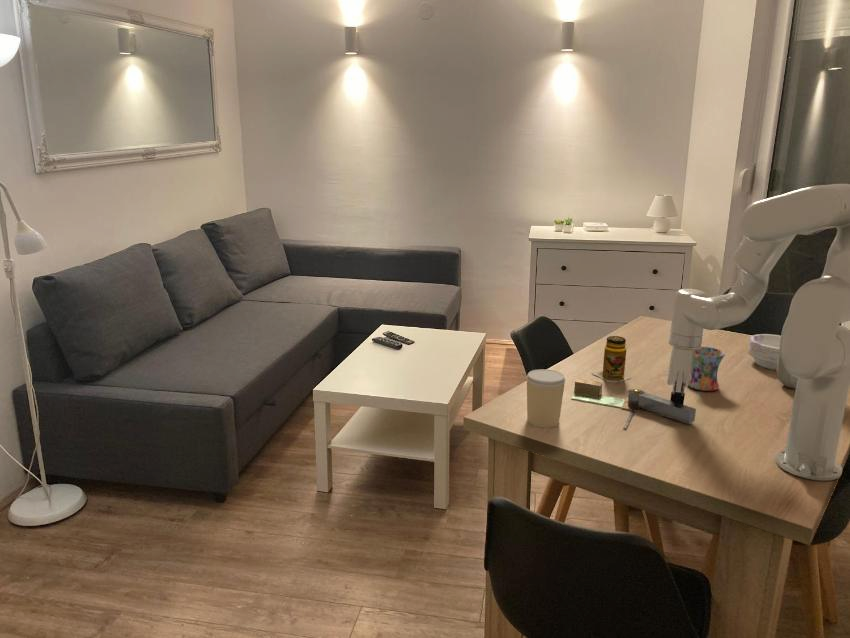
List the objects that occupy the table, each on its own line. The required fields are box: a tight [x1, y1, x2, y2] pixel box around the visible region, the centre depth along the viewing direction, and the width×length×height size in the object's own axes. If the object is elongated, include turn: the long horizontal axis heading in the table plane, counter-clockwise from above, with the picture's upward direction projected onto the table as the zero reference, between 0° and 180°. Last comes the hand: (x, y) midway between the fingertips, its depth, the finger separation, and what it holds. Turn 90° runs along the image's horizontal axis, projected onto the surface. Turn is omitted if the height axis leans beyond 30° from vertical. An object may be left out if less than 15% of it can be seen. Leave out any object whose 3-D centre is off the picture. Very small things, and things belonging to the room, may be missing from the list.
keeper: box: [570, 378, 626, 409], centre depth 187 cm, size 8×14×3 cm, turn 65°
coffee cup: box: [526, 368, 566, 428], centre depth 171 cm, size 9×9×12 cm
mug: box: [688, 346, 726, 392], centre depth 196 cm, size 12×9×11 cm
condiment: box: [592, 335, 631, 384], centre depth 202 cm, size 7×8×12 cm
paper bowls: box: [747, 333, 781, 371], centre depth 214 cm, size 15×15×8 cm
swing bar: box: [627, 388, 697, 425], centre depth 176 cm, size 18×4×4 cm, turn 41°
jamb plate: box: [620, 397, 668, 430], centre depth 175 cm, size 20×12×1 cm, turn 155°
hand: (676, 407), depth 177 cm, fingers closed
